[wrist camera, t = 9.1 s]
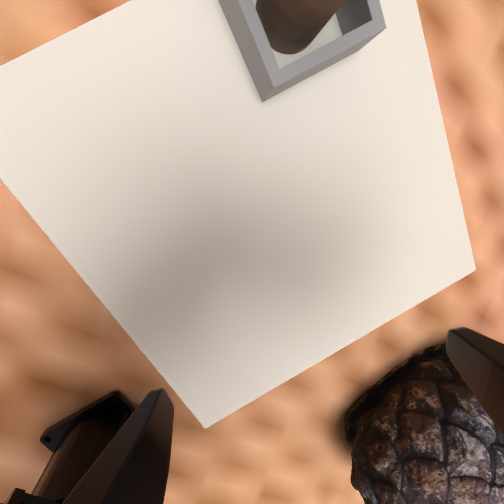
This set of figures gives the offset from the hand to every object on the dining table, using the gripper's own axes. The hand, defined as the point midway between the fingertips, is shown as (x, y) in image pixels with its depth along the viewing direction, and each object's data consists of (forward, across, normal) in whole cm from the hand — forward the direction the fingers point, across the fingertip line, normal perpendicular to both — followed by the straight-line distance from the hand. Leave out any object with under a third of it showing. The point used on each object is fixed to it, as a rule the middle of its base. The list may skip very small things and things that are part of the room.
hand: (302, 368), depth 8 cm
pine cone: (+12, -10, +20) cm, 25 cm away
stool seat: (+12, -1, -2) cm, 13 cm away
